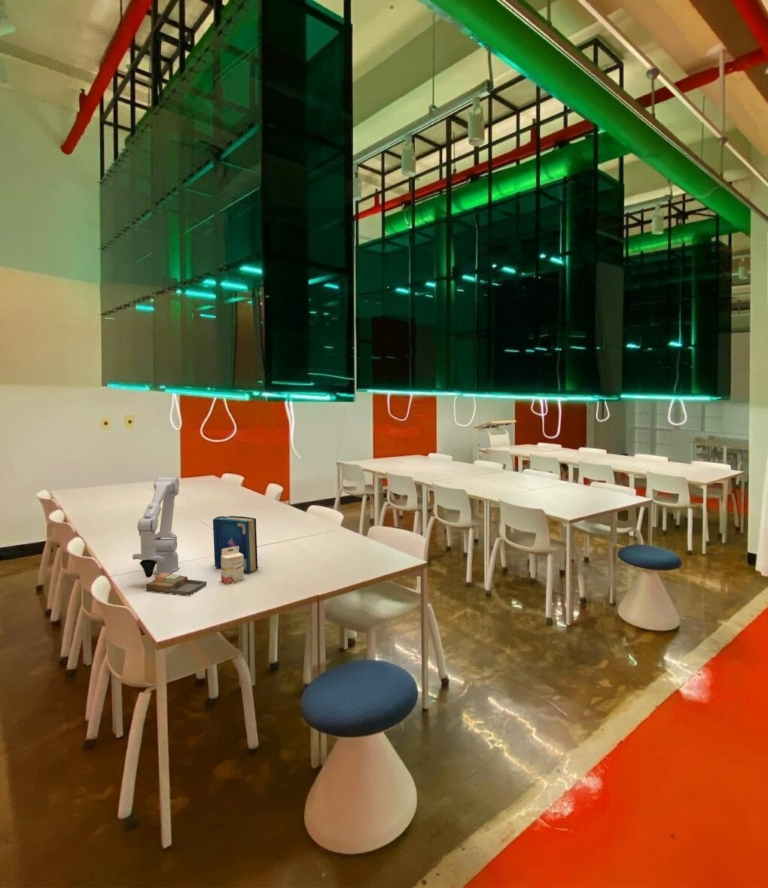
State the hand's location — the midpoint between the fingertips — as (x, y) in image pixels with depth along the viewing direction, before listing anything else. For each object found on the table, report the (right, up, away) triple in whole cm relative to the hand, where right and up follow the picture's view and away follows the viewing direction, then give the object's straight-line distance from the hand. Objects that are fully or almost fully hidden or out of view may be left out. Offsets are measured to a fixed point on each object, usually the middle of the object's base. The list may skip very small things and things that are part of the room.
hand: (149, 576), depth 210 cm
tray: (+19, -4, -4) cm, 20 cm away
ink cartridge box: (+34, -4, +7) cm, 35 cm away
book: (+30, -3, +22) cm, 37 cm away
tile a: (+7, -1, -2) cm, 7 cm away
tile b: (+11, -1, -3) cm, 12 cm away
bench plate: (+9, -4, -2) cm, 10 cm away
